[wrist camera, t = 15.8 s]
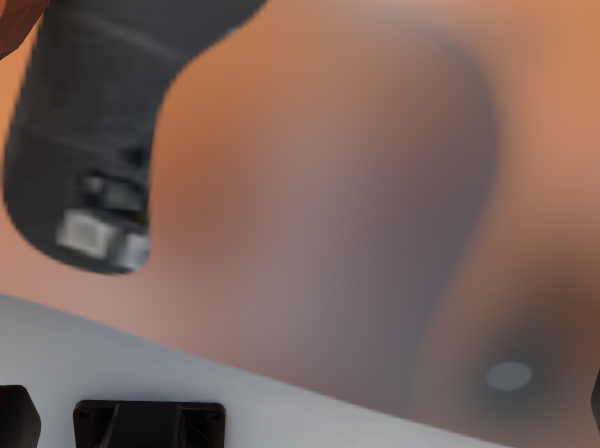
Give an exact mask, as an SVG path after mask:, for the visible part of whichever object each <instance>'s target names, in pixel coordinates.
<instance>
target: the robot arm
mask: <svg viewBox="0 0 600 448" xmlns="http://www.w3.org/2000/svg"><path fill="white" fill-rule="evenodd" d="M591 408H592V413H593V416H594V419H595V422H596V425H597V428H598V432H599V435H600V369H599V373H598V376H597V379H596V382H595V386H594V388H593V392H592V395H591ZM83 411H87V412H89V413H86V412H83ZM211 414H217V415H215V416H214V415H211ZM225 415H226V410H225V408H224V406H223V405H221V404H219V403H199V402H156V401H113V400H82V401H80V402H78V403H77V404H76V406H75V409H74V412H73V422H74V431H75V440H76V448H224V434H225ZM40 432H41V420H40V416H39V414H38V412H37V410H36V408H35V406H34V404H33V402H32V400H31V397H30V395H29V393H28V391H27V390H26V388H25V387H23V386H22V385H1V386H0V448H37V444H38V440H39V436H40Z"/></svg>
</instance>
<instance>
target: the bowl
mask: <svg viewBox="0 0 600 448" xmlns="http://www.w3.org/2000/svg"><path fill="white" fill-rule="evenodd" d="M50 1H51V0H0V60H1V59H3V58H4V57H6V56H7V55H9V54H10V53H12V52H13V51H14V50H16V49H17V48H19V45H21V44H22V43H23V41H24V40H25V38H26V37H27V35H28V34H29V32H30V31H31V29H32V28H33V26H34V25H35V23H36V22H37V20H38V19H39V17H40V16H41V14H42V13H43V11H44V10H45V8H46V7H47V5H48V4H49V2H50Z"/></svg>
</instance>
